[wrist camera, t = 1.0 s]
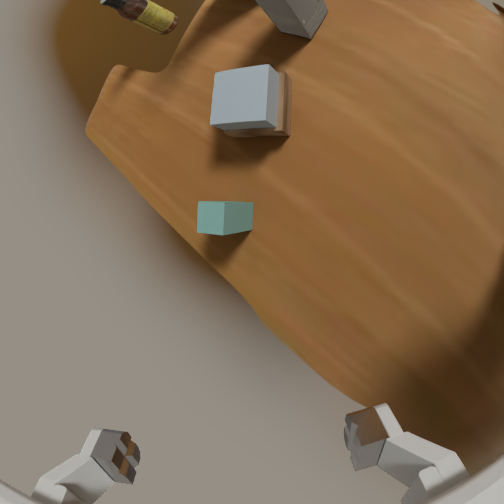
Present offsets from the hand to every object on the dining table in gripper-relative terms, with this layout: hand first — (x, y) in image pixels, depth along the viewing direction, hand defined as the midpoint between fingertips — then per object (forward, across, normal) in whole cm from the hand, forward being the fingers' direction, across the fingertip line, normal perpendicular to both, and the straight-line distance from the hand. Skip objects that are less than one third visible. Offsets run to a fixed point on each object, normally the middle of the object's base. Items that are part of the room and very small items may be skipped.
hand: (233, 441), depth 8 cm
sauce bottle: (+55, +10, -50) cm, 75 cm away
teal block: (+41, 0, -2) cm, 41 cm away
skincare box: (+39, -16, -37) cm, 56 cm away
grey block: (+38, -5, -20) cm, 43 cm away
